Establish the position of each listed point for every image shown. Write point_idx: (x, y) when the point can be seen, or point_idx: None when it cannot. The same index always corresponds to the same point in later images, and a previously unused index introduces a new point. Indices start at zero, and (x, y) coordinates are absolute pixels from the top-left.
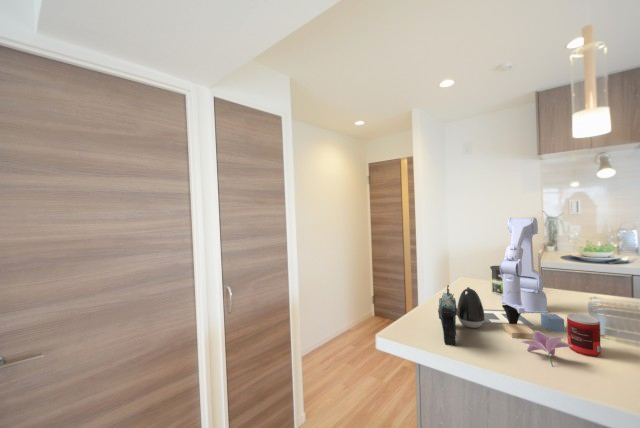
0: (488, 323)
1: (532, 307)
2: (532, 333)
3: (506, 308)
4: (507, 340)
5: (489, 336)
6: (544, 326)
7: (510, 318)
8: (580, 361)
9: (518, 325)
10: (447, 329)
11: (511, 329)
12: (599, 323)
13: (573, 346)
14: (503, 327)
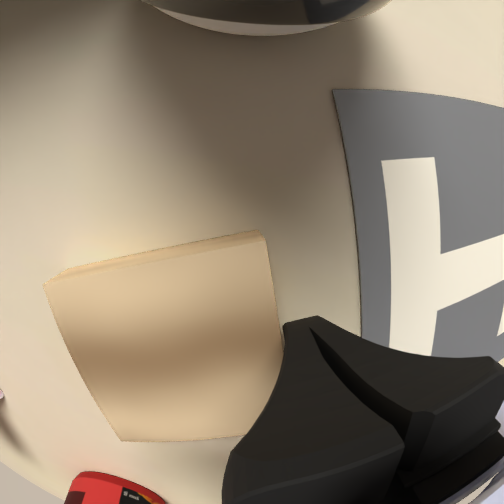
0: (341, 121)
1: (499, 420)
2: (111, 422)
3: (270, 480)
4: (22, 224)
5: (47, 99)
6: None
7: (283, 367)
8: (24, 444)
9: (251, 384)
10: None
11: (111, 302)
12: None
13: (79, 485)
14: (228, 239)
